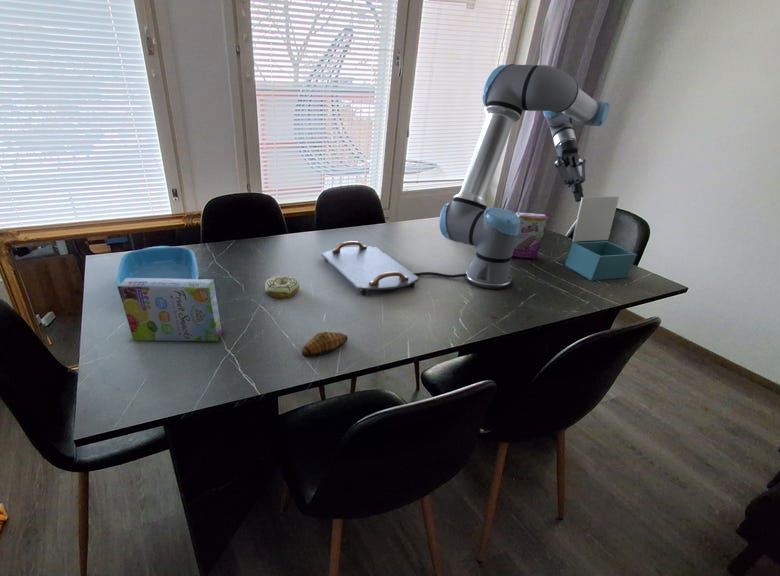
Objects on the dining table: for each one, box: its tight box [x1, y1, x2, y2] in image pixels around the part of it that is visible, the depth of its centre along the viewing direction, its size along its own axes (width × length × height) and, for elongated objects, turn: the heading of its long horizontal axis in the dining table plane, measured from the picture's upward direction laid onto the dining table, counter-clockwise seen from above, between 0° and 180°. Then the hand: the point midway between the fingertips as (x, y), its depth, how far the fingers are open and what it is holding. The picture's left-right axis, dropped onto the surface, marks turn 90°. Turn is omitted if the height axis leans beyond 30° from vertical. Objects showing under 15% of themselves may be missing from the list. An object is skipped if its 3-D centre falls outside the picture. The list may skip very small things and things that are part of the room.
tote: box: [564, 240, 638, 281], centre depth 154 cm, size 15×16×9 cm
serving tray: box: [321, 240, 420, 296], centre depth 145 cm, size 39×23×6 cm, turn 25°
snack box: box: [117, 278, 223, 342], centre depth 103 cm, size 21×6×15 cm, turn 92°
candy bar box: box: [512, 211, 549, 260], centre depth 162 cm, size 11×5×16 cm, turn 84°
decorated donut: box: [264, 275, 300, 299], centre depth 130 cm, size 10×11×4 cm
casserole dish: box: [115, 245, 200, 288], centre depth 129 cm, size 37×22×7 cm, turn 21°
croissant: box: [301, 330, 349, 358], centre depth 103 cm, size 14×7×5 cm, turn 128°
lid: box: [571, 196, 620, 243], centre depth 154 cm, size 15×16×1 cm
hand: (579, 199), depth 160 cm, fingers closed
